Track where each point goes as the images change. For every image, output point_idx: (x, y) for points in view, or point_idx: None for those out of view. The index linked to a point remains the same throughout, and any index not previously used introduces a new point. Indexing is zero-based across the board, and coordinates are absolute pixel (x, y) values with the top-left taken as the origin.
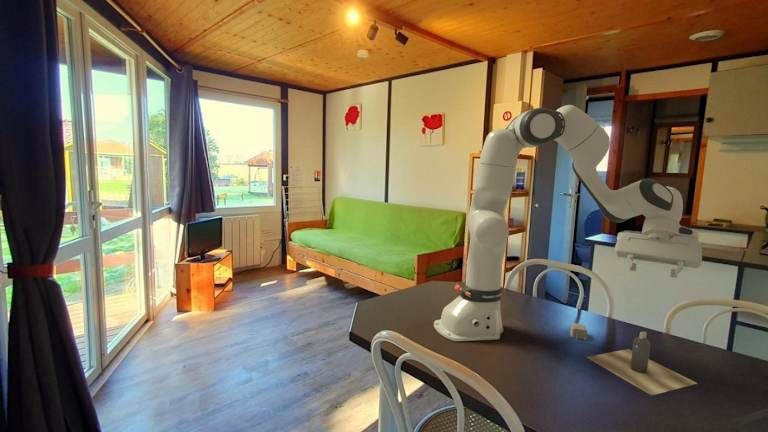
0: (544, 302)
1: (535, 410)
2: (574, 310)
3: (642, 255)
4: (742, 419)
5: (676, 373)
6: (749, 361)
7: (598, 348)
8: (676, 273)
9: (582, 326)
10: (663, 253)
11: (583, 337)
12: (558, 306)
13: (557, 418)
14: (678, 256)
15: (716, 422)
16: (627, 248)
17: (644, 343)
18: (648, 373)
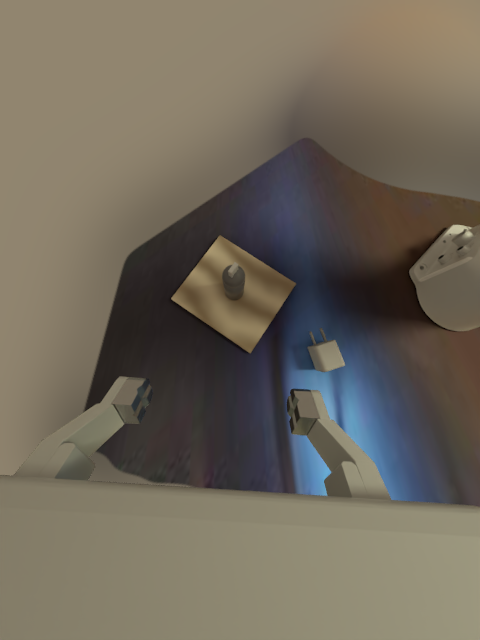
0: None
1: (311, 154)
2: None
3: (291, 497)
4: (140, 255)
5: (191, 310)
6: None
7: (287, 337)
8: (119, 380)
9: (326, 359)
10: (127, 538)
11: (314, 342)
12: None
13: (291, 155)
14: (11, 512)
15: (165, 233)
16: (450, 564)
17: (230, 265)
18: (223, 287)
